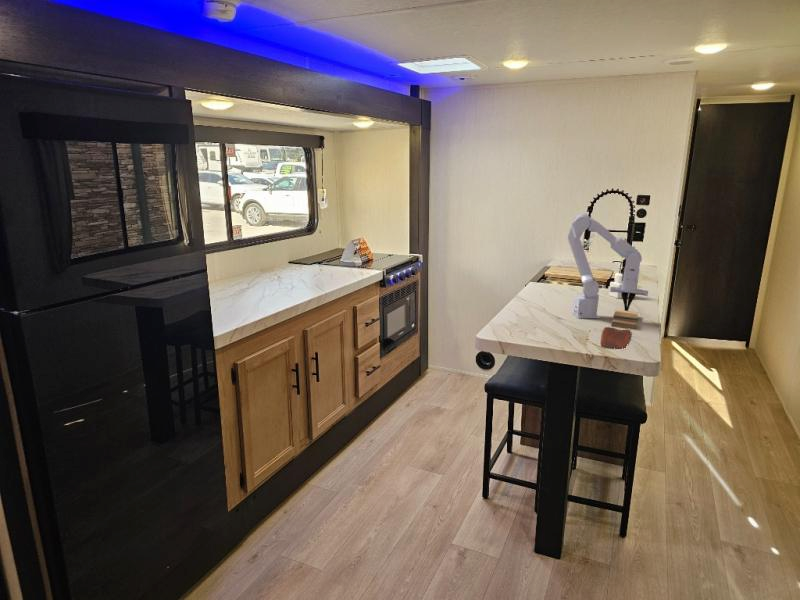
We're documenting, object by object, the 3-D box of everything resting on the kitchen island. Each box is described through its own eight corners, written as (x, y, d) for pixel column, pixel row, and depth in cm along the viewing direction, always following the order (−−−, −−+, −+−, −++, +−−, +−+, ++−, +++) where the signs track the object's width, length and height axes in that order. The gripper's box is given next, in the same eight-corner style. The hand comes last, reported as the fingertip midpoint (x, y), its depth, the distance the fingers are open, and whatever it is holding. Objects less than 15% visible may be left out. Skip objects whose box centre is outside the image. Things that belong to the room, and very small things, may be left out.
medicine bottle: (620, 294, 267) (623, 271, 264) (629, 298, 260) (632, 274, 257) (608, 295, 265) (611, 272, 262) (617, 298, 258) (620, 275, 255)
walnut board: (635, 329, 209) (636, 323, 208) (611, 326, 212) (612, 320, 212) (636, 324, 216) (637, 318, 215) (612, 321, 219) (613, 315, 219)
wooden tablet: (603, 329, 211) (604, 325, 210) (630, 332, 206) (631, 328, 206) (596, 348, 187) (597, 344, 187) (627, 353, 183) (627, 348, 183)
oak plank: (636, 323, 217) (636, 318, 217) (613, 319, 221) (613, 315, 220) (637, 316, 227) (638, 312, 226) (615, 313, 230) (615, 309, 230)
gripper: (649, 279, 217) (645, 310, 221) (612, 275, 223) (608, 305, 227) (649, 282, 211) (645, 314, 215) (611, 278, 217) (607, 309, 221)
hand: (626, 310), depth 220 cm, fingers closed
